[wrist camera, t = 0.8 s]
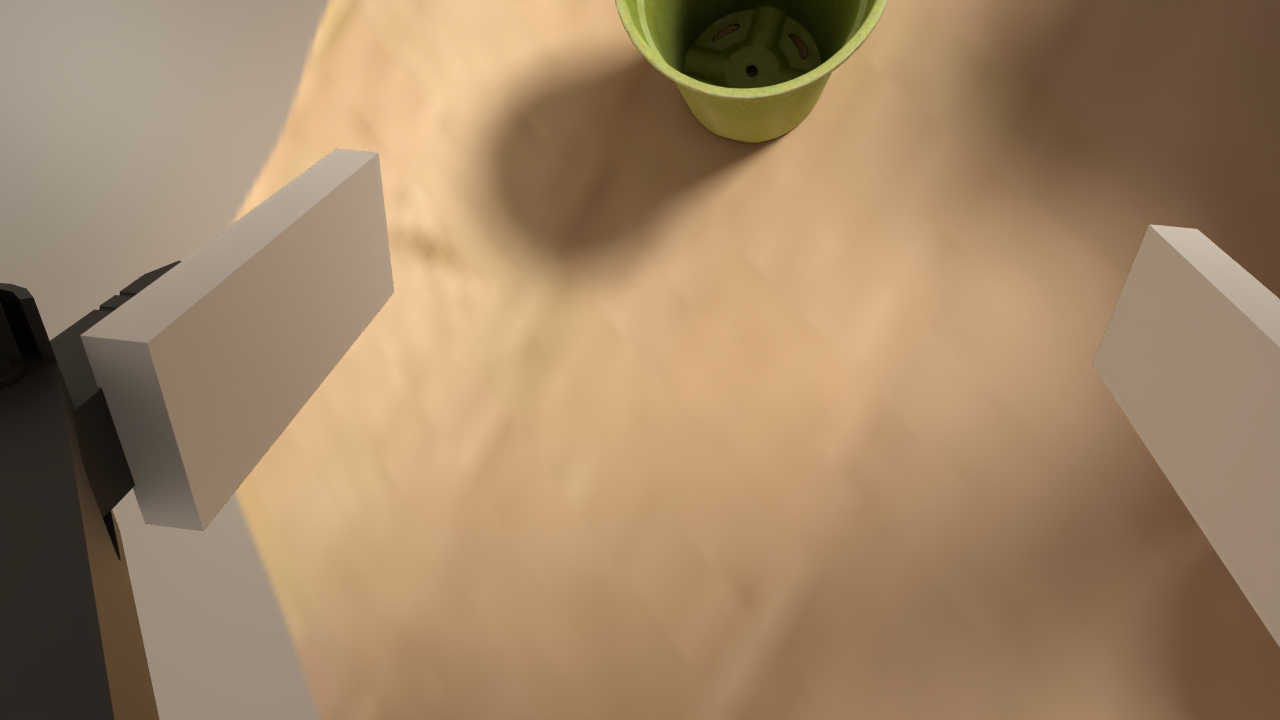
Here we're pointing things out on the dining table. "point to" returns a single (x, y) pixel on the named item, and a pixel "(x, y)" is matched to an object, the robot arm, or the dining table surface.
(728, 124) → the plant pot
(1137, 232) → the dining table surface
